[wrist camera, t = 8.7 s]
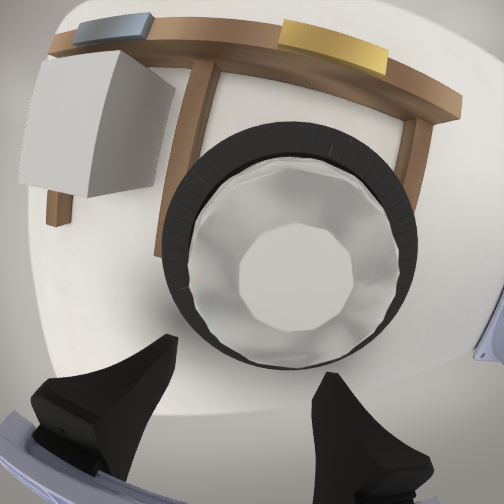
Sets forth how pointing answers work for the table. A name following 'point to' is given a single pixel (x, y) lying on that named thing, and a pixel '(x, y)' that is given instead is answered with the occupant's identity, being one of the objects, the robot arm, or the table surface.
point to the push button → (289, 246)
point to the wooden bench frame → (270, 67)
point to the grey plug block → (94, 125)
